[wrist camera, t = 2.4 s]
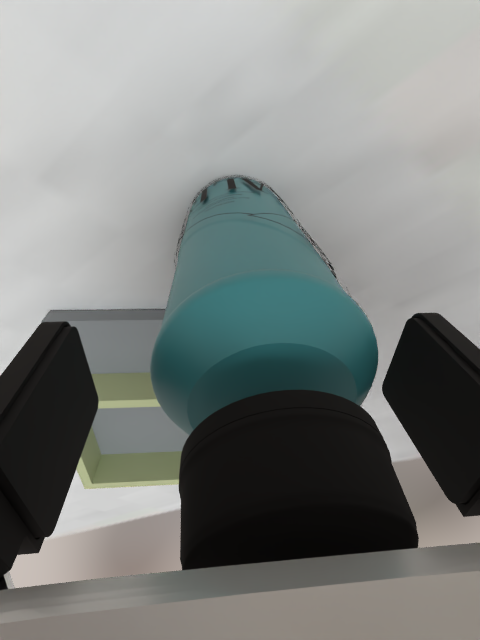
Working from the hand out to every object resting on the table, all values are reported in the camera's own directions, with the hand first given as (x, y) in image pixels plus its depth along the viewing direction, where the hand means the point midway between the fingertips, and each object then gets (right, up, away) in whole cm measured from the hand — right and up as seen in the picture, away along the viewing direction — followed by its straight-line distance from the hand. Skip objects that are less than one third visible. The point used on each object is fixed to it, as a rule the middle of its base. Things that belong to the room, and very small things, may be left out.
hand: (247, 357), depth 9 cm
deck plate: (-6, -6, +21) cm, 22 cm away
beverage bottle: (-1, +8, +12) cm, 15 cm away
